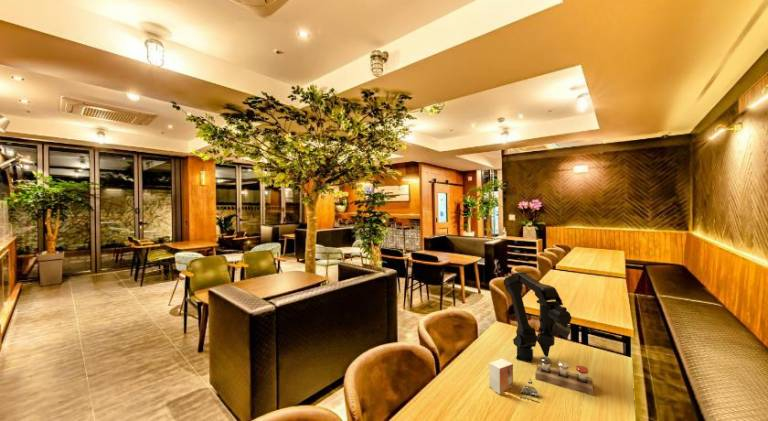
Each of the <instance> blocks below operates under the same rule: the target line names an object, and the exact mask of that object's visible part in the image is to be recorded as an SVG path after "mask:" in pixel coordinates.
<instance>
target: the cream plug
mask: <svg viewBox="0 0 768 421" xmlns="http://www.w3.org/2000/svg"><path fill="white" fill-rule="evenodd" d="M557 366H558V369H559V376H560V377H564V378H567V379H568V372H569V370H568V369H569V368H570V364H569V363H568V362H566V361H564V360H559V361H557Z"/></svg>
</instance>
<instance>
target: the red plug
mask: <svg viewBox="0 0 768 421" xmlns="http://www.w3.org/2000/svg"><path fill="white" fill-rule="evenodd" d="M575 369H576V372H577V374H578V382H582V383H586V384H587V375H588V373H589V368H588V367H586V366H584V365H576V367H575Z"/></svg>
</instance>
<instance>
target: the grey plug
mask: <svg viewBox="0 0 768 421" xmlns="http://www.w3.org/2000/svg"><path fill="white" fill-rule="evenodd" d="M540 362H541V365H542V372H545V373H549V374H550V367H551V366H550V365H551V364H552V359H551V358H550V357H545V356H541V357H540Z"/></svg>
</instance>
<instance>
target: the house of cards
mask: <svg viewBox="0 0 768 421" xmlns="http://www.w3.org/2000/svg"><path fill="white" fill-rule="evenodd" d="M526 382H527V384H525V385H523V386H522V387H521V389H520V393H523V394H524V395H527V394H528V396H530V397H531V396H532V395H533V397H538V398H540V394H539V392H538V390H536V387H534V386H532V385H533V380H532V379H531V378H529V379H527V381H526ZM530 385H531V386H530ZM519 398H520V399H522V398H523V399H522V400H526V399H527V401H529V400H531V402H534V403H536V404H537V403H538V404H540V401H537V400H535V399H532V398H528V397H525V396H522V395H520V396H519Z"/></svg>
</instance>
